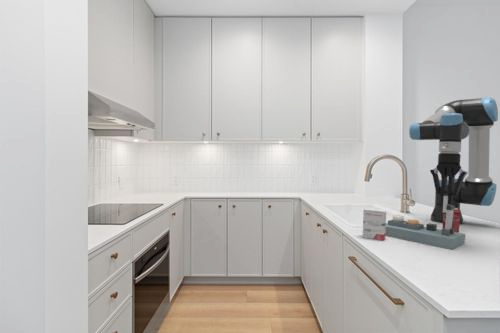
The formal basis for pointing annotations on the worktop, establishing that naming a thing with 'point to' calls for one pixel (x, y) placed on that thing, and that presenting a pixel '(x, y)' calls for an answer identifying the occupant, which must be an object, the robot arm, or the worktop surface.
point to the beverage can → (455, 220)
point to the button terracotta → (413, 222)
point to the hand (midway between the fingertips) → (445, 212)
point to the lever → (449, 217)
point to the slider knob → (431, 227)
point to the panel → (425, 235)
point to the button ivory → (398, 218)
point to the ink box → (374, 224)
